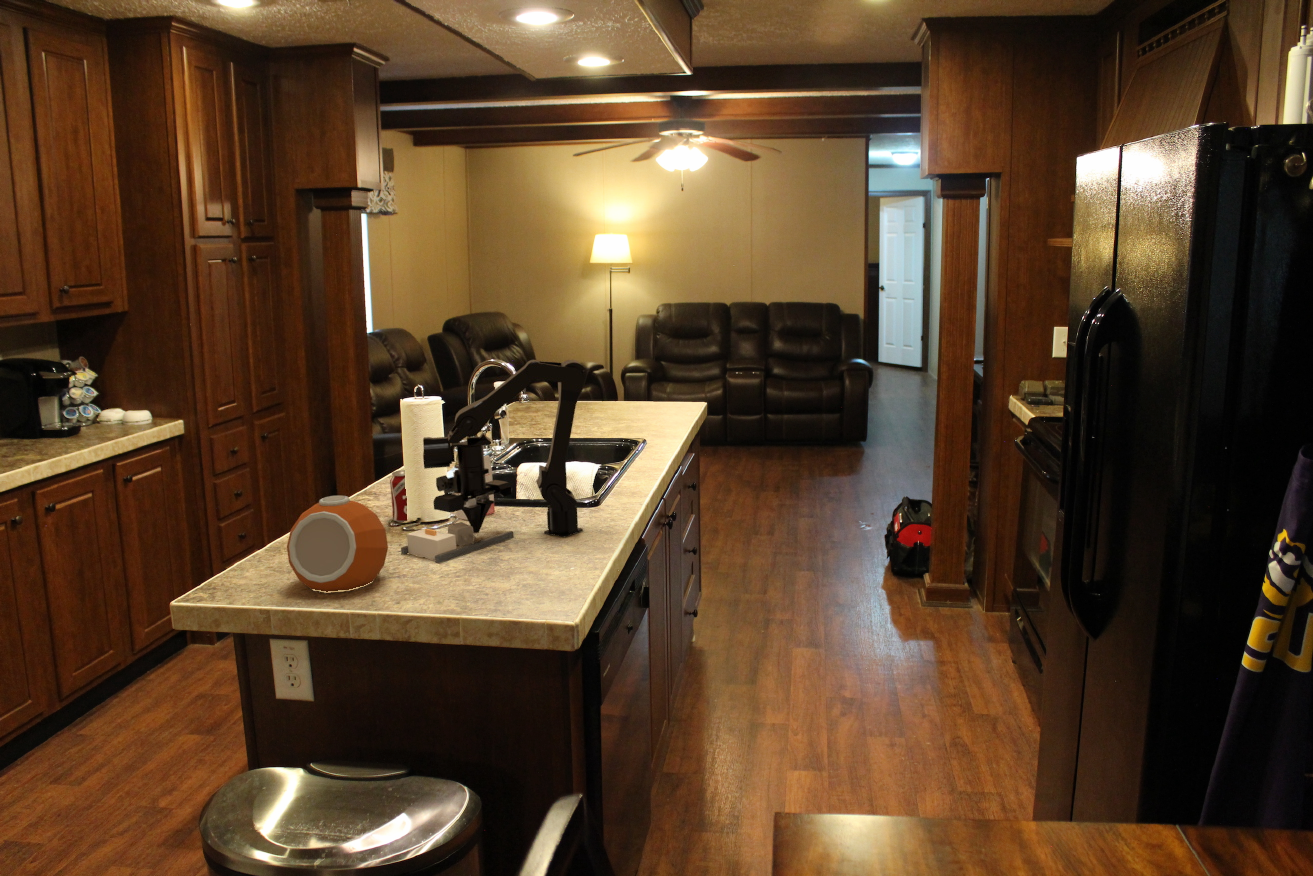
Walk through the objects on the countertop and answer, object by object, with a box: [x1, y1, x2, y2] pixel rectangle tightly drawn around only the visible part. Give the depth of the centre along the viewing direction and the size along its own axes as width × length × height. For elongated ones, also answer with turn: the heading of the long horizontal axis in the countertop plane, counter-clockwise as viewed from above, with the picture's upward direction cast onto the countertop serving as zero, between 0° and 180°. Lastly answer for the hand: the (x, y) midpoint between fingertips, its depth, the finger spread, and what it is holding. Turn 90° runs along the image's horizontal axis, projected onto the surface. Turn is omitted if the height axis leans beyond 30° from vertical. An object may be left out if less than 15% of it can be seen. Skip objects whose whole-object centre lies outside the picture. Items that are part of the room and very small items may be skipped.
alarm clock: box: [286, 495, 389, 592], centre depth 203 cm, size 19×18×17 cm
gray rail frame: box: [400, 530, 514, 564], centre depth 227 cm, size 12×22×2 cm, turn 143°
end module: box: [406, 528, 457, 561], centre depth 221 cm, size 10×5×6 cm, turn 53°
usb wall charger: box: [447, 521, 476, 547], centre depth 228 cm, size 4×7×4 cm, turn 38°
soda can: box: [389, 469, 407, 523], centre depth 248 cm, size 7×7×12 cm
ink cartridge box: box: [452, 454, 496, 521], centre depth 251 cm, size 9×5×15 cm, turn 143°
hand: (476, 532), depth 231 cm, fingers closed
